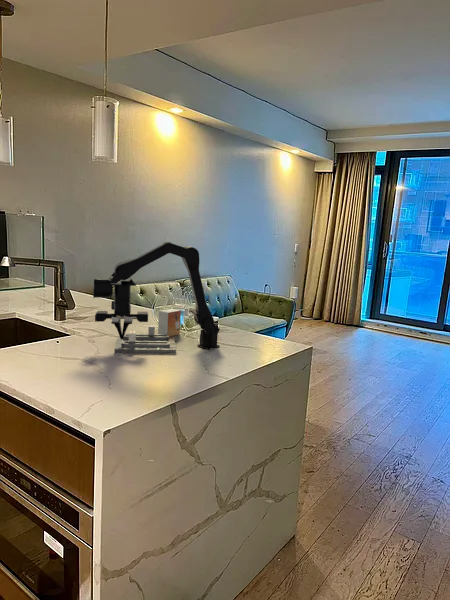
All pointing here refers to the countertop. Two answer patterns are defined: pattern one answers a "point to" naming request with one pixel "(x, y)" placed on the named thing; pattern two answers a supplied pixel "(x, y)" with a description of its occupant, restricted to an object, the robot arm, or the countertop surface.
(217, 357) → the countertop surface
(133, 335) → the block
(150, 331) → the fader cap grey
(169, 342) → the panel
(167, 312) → the small box
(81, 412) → the countertop surface
